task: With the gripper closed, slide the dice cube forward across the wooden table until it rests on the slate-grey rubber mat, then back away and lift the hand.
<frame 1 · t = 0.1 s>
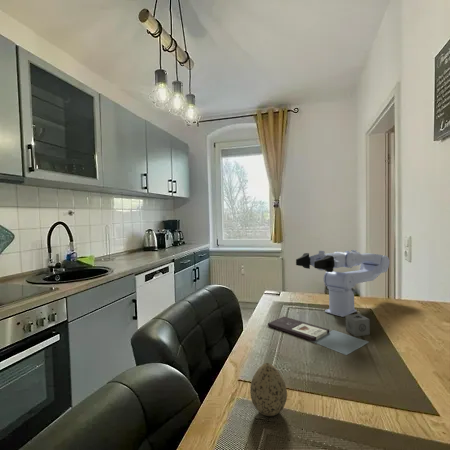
hand: (305, 263, 99), 22 cm above the table, tool horizontal, fingers open, 7 cm apart
decorative egg: (269, 413, 58), on the table
dice cube: (357, 333, 93), on the table
mat: (339, 341, 87), on the table
chocolate bar: (297, 329, 98), on the table, touching mat
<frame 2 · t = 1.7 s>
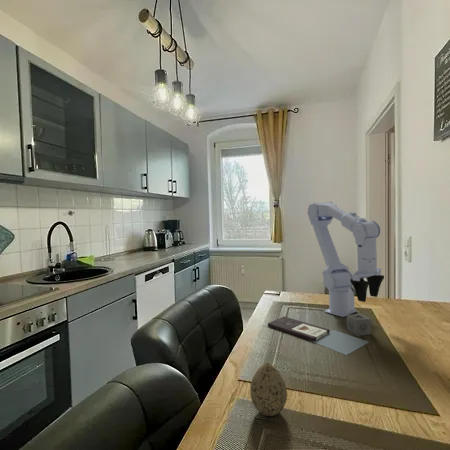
hand: (367, 298, 97), 9 cm above the table, tool pointing down, fingers open, 7 cm apart
nothing on the table moved.
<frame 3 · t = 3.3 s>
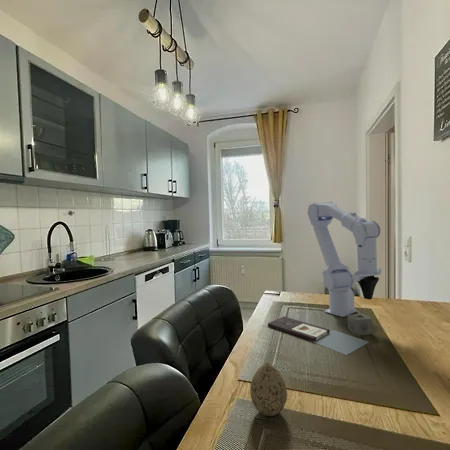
hand: (367, 298, 97), 9 cm above the table, tool pointing down, fingers closed
nothing on the table moved.
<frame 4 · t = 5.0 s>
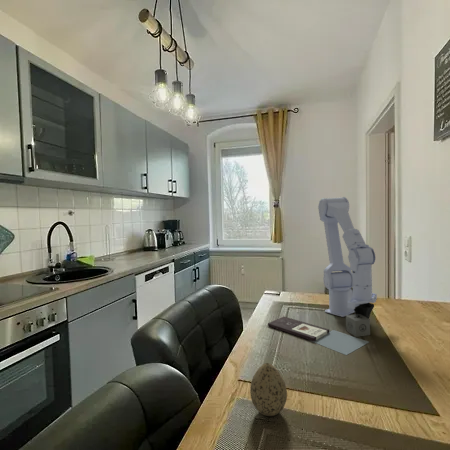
hand: (363, 325, 95), 1 cm above the table, tool pointing down, fingers closed, pressing on dice cube
dice cube: (357, 333, 93), on the table, touching gripper
everything else where it was.
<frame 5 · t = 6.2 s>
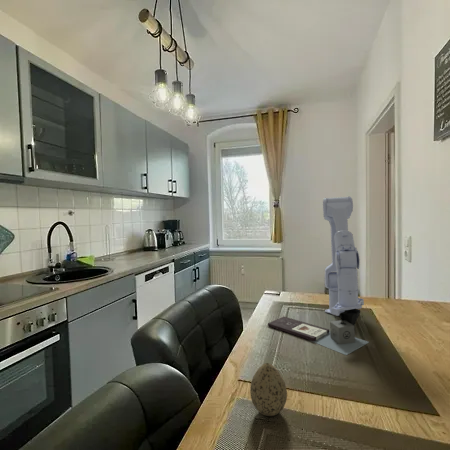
hand: (349, 332, 91), 1 cm above the table, tool pointing down, fingers closed
dice cube: (342, 340, 88), on the table, touching gripper
everything else where it was.
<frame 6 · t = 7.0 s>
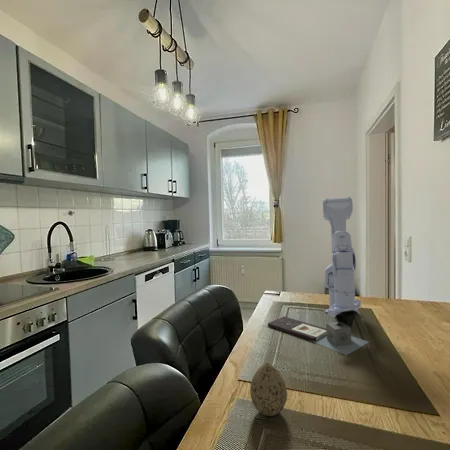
hand: (345, 334, 89), 1 cm above the table, tool pointing down, fingers closed
dice cube: (338, 342, 87), on the table, touching gripper, mat
everything else where it was.
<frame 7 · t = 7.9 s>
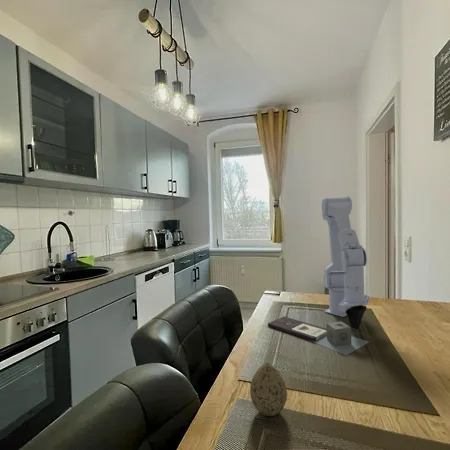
hand: (355, 328, 93), 1 cm above the table, tool pointing down, fingers closed
dice cube: (338, 342, 87), on the table, touching mat
everything else where it was.
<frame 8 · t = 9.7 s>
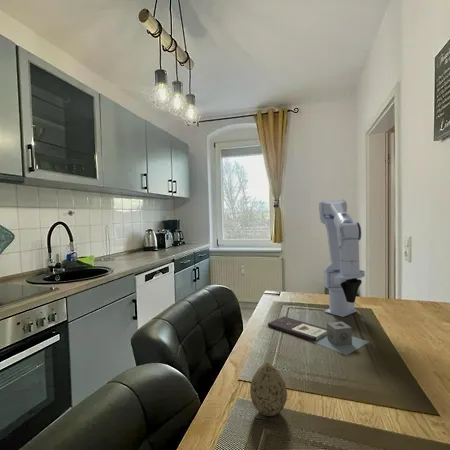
hand: (350, 301, 95), 9 cm above the table, tool pointing down, fingers closed
nothing on the table moved.
at the end: dice cube inside the target area on the mat (0.3 cm from its centre), point 0.0 cm above the mat's base; dice cube tilted 0°; dice cube moved 10.2 cm from its start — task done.
